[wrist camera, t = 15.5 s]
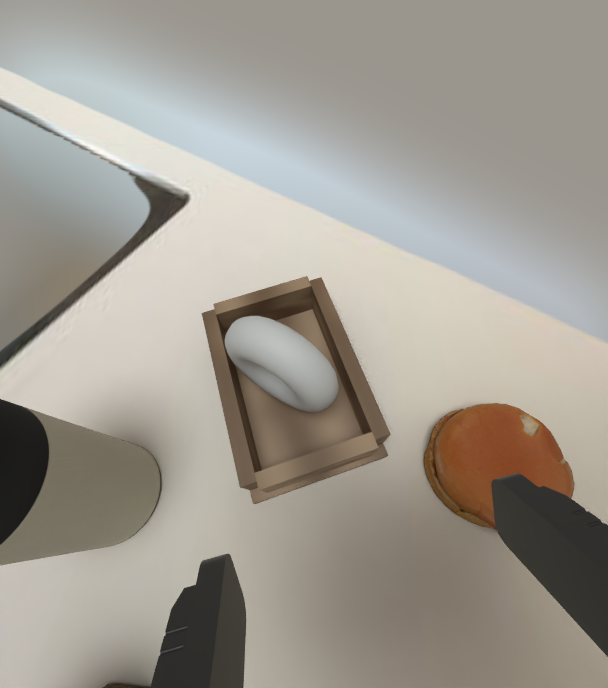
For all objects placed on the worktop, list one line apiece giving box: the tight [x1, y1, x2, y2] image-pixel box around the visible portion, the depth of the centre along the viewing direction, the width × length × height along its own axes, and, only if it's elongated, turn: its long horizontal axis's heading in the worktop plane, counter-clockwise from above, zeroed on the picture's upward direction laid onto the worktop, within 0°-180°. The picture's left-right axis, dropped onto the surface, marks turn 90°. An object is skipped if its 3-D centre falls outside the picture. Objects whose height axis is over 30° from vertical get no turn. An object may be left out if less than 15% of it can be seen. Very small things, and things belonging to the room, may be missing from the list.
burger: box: [424, 403, 574, 530], centre depth 26 cm, size 10×9×5 cm
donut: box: [225, 316, 339, 412], centre depth 26 cm, size 10×4×10 cm, turn 57°
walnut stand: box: [202, 276, 390, 504], centre depth 29 cm, size 12×17×5 cm
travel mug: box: [0, 399, 160, 565], centre depth 20 cm, size 8×8×18 cm
